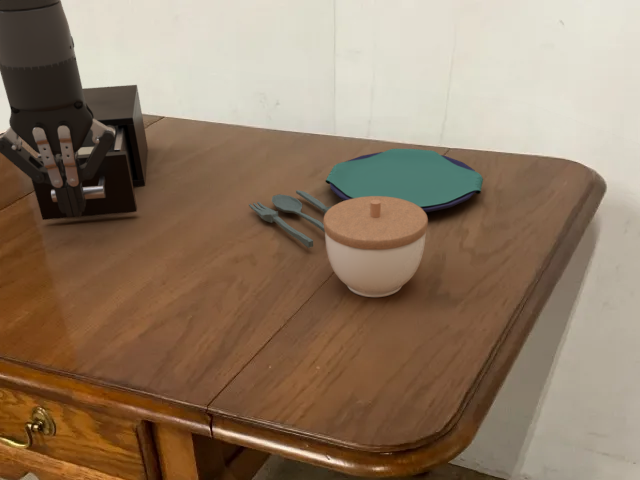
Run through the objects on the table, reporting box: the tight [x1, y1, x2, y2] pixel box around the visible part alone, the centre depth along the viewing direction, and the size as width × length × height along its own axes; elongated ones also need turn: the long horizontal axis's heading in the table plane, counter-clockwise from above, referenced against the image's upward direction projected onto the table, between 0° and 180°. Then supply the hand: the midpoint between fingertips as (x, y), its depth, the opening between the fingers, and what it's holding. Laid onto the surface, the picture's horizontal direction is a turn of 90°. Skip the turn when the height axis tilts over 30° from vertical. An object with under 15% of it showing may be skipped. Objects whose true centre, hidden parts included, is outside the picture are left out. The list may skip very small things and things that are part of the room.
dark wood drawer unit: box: [82, 84, 149, 188], centre depth 108 cm, size 15×13×9 cm
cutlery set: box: [248, 148, 484, 249], centre depth 100 cm, size 20×30×2 cm, turn 122°
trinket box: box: [323, 196, 429, 298], centre depth 81 cm, size 11×11×9 cm
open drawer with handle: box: [31, 125, 138, 221], centre depth 98 cm, size 18×12×7 cm, turn 9°
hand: (75, 214), depth 88 cm, fingers closed
